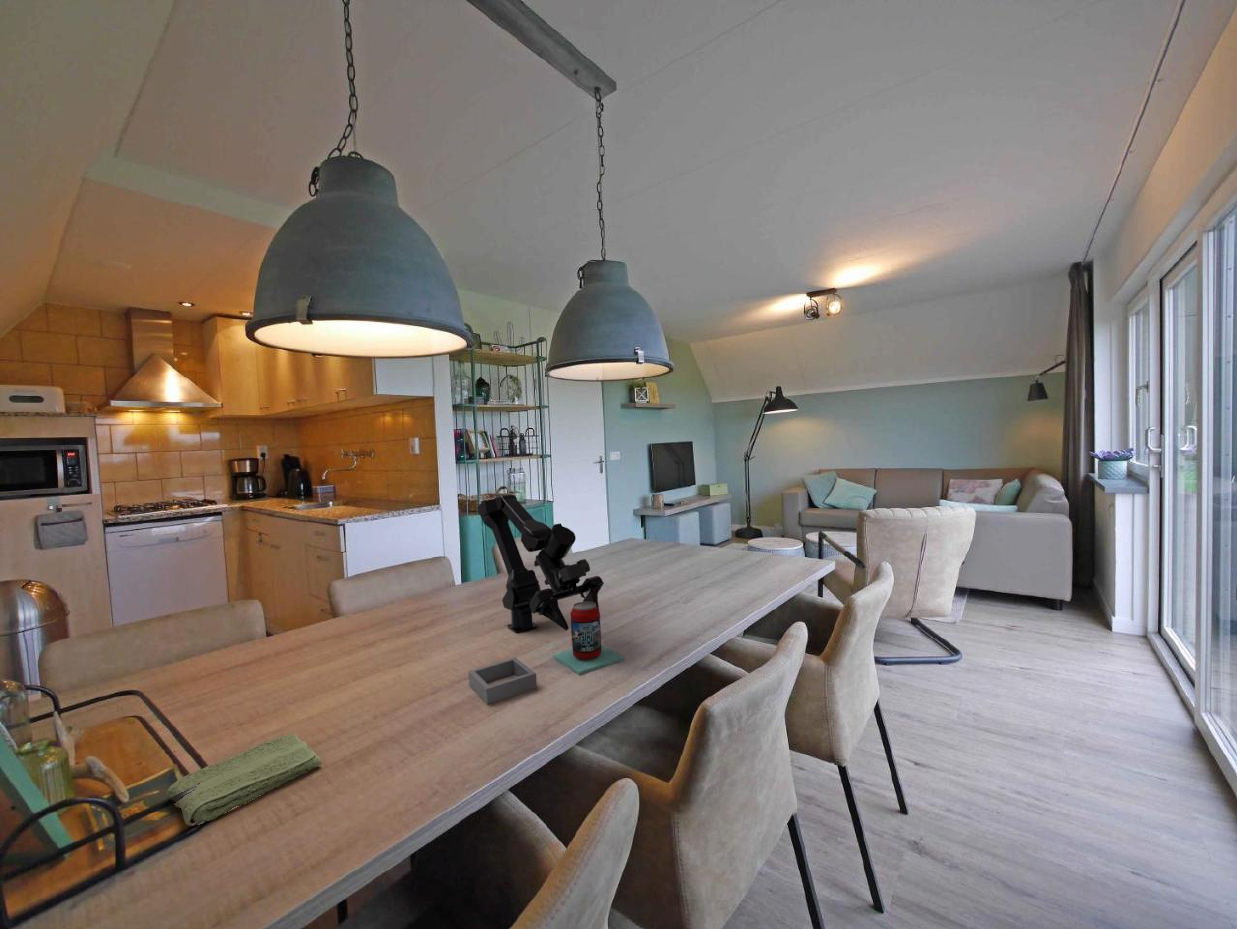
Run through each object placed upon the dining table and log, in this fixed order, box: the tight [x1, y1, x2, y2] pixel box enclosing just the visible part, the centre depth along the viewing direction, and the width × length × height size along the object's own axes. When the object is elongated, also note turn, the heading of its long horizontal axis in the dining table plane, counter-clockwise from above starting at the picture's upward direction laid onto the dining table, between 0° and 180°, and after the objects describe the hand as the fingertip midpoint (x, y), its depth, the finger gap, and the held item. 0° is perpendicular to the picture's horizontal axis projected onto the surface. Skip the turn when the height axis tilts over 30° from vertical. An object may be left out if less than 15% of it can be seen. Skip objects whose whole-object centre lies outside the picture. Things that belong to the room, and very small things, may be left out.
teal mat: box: [552, 644, 625, 676], centre depth 121 cm, size 12×12×1 cm
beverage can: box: [570, 601, 602, 660], centre depth 120 cm, size 7×7×12 cm
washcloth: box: [166, 733, 323, 827], centre depth 81 cm, size 13×18×3 cm
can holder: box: [467, 657, 538, 705], centre depth 109 cm, size 11×11×3 cm
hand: (583, 624), depth 121 cm, fingers open, 9 cm apart
